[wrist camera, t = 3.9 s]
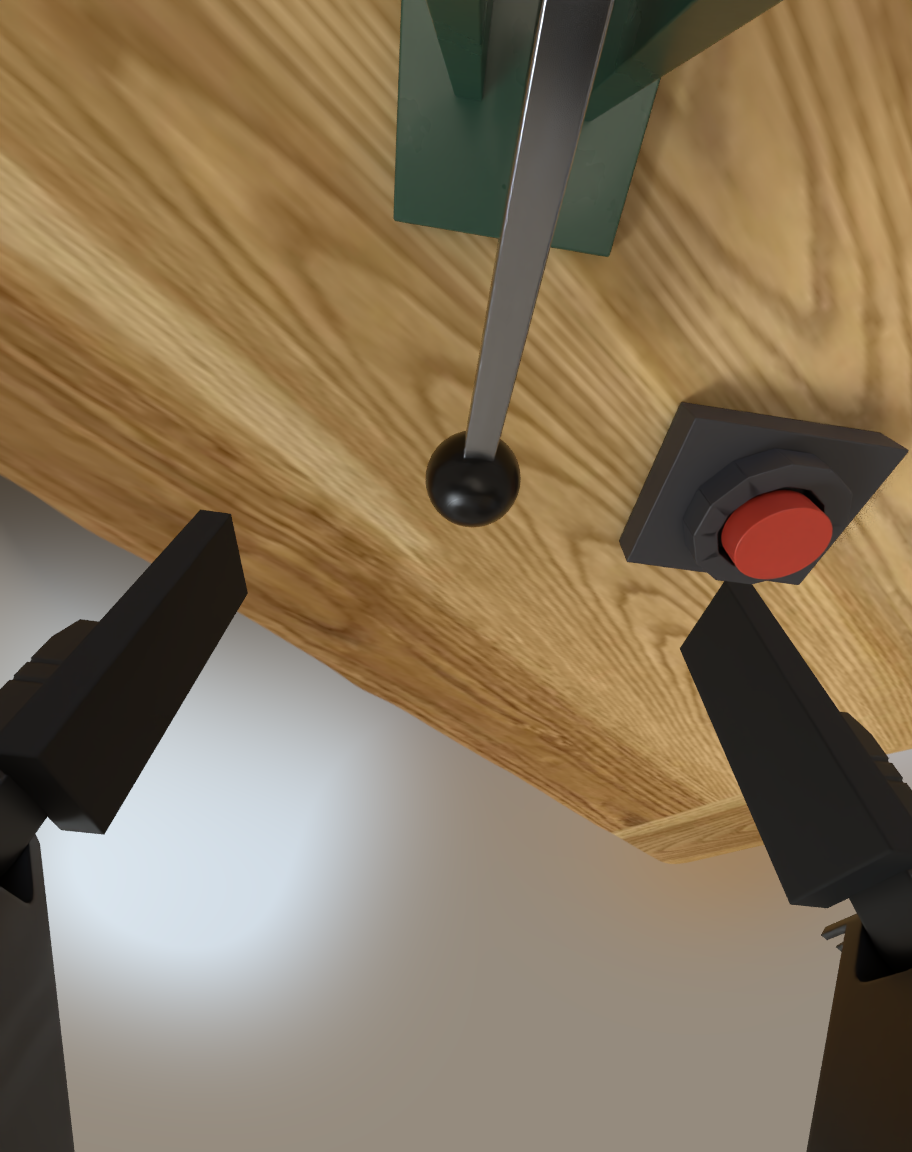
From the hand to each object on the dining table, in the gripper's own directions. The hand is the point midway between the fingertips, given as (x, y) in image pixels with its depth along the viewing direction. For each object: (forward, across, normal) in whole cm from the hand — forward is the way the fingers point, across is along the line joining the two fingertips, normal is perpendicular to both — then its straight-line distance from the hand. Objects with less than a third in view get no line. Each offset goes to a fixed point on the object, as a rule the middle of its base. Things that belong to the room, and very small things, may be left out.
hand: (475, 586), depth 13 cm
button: (+12, +16, -3) cm, 20 cm away
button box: (+15, +16, -3) cm, 22 cm away
